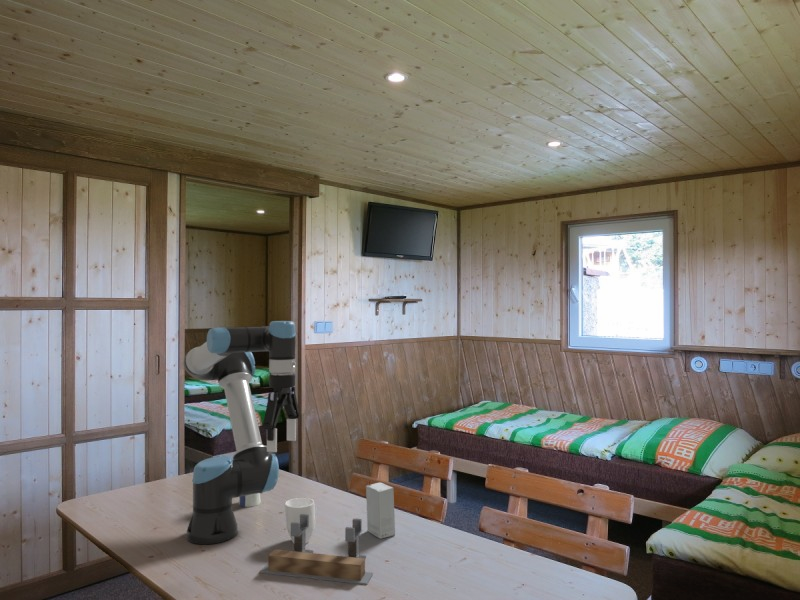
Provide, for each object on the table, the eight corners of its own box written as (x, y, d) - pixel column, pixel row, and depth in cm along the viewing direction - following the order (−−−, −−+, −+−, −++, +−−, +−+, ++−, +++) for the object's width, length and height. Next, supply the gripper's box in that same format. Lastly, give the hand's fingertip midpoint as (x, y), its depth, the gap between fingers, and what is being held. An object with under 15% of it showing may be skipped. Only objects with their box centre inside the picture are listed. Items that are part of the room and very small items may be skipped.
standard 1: (285, 562, 159) (286, 523, 159) (297, 550, 167) (297, 513, 167) (302, 564, 158) (302, 524, 158) (313, 552, 165) (313, 514, 166)
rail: (268, 570, 153) (268, 555, 154) (274, 563, 157) (274, 549, 157) (360, 580, 148) (360, 565, 148) (364, 573, 152) (365, 558, 152)
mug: (303, 549, 167) (302, 508, 168) (279, 544, 172) (279, 504, 172) (326, 535, 178) (325, 496, 178) (304, 530, 182) (303, 493, 182)
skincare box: (395, 535, 178) (395, 488, 178) (379, 540, 174) (379, 491, 175) (381, 526, 185) (381, 481, 185) (365, 530, 182) (365, 484, 182)
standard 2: (340, 568, 155) (340, 528, 155) (349, 556, 163) (349, 517, 163) (358, 570, 154) (358, 530, 154) (366, 557, 162) (366, 519, 162)
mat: (259, 572, 153) (259, 571, 153) (269, 562, 159) (269, 561, 159) (366, 584, 146) (366, 583, 146) (373, 574, 152) (373, 572, 152)
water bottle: (267, 501, 208) (267, 433, 209) (249, 508, 201) (249, 438, 201) (251, 497, 213) (251, 430, 213) (233, 504, 205) (233, 435, 206)
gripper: (275, 379, 154) (275, 457, 154) (310, 369, 178) (309, 436, 178) (250, 378, 156) (250, 455, 156) (287, 368, 180) (287, 435, 180)
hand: (281, 445), depth 167 cm, fingers open, 13 cm apart
